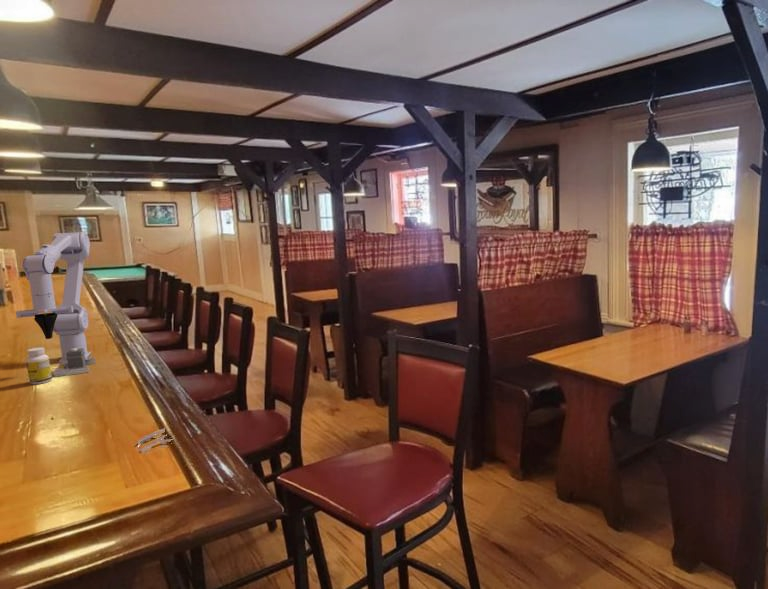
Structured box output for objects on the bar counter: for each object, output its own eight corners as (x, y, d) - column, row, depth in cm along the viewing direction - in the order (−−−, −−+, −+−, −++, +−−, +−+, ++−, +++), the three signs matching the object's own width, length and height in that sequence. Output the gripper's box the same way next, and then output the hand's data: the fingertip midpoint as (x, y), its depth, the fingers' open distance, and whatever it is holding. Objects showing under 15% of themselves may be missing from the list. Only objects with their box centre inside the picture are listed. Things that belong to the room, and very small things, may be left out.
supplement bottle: (25, 383, 147) (20, 350, 145) (45, 378, 151) (40, 346, 150) (36, 385, 144) (31, 352, 143) (56, 379, 149) (51, 347, 147)
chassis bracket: (63, 366, 164) (62, 359, 164) (95, 361, 167) (94, 355, 167) (54, 377, 152) (53, 370, 152) (88, 372, 155) (87, 365, 155)
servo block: (72, 367, 162) (69, 346, 161) (86, 365, 163) (83, 345, 162) (68, 372, 156) (65, 351, 155) (83, 370, 158) (80, 349, 157)
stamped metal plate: (167, 434, 106) (166, 427, 106) (185, 441, 102) (184, 434, 102) (129, 448, 100) (128, 441, 100) (146, 457, 96) (146, 449, 96)
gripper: (10, 298, 149) (17, 343, 151) (67, 293, 154) (73, 337, 156) (17, 295, 156) (24, 339, 158) (72, 291, 161) (78, 333, 163)
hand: (49, 338), depth 157 cm, fingers closed
